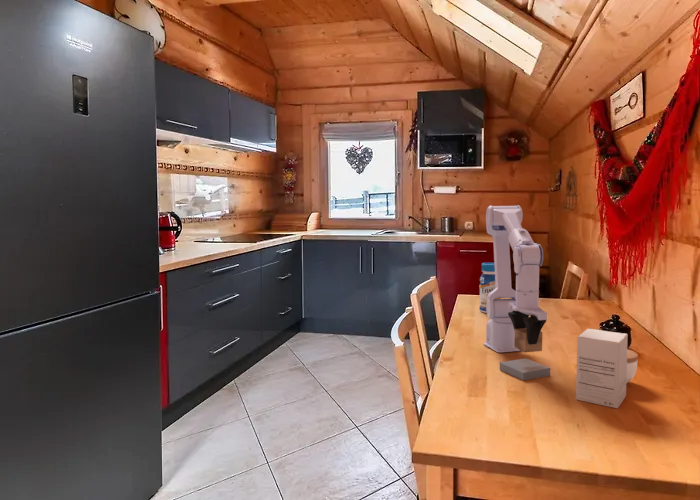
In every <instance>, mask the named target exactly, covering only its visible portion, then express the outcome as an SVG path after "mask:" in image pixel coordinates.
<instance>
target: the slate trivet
mask: <svg viewBox="0 0 700 500" xmlns="http://www.w3.org/2000/svg"><path fill="white" fill-rule="evenodd" d="M499 371H501V372H503V373H506V374H507V375H510V376H512V377H514V378H516V379H519V380H521V381H528V380H534V379H538V378H544V377H549V376H551V367H549V366H547V365H544V364H542V363H539V362H536V361H534V360H531V359H529V358H526V357H525V358H520V359H514V360H512V359H511V360H506V361H501V362H499Z"/></svg>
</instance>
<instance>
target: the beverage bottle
mask: <svg viewBox="0 0 700 500" xmlns="http://www.w3.org/2000/svg"><path fill="white" fill-rule="evenodd" d="M481 272H482V273H481V275H480V277H479V282H480V283H479V286H478V287H479V288H478V289H479V312H480V313H485V314H487V312H486V304H487V296H488V294H489V293H490V292H491V291H493V290H494V289H495V288H496V285H495V265H494V262H482V263H481ZM495 299H501V298H495Z"/></svg>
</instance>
